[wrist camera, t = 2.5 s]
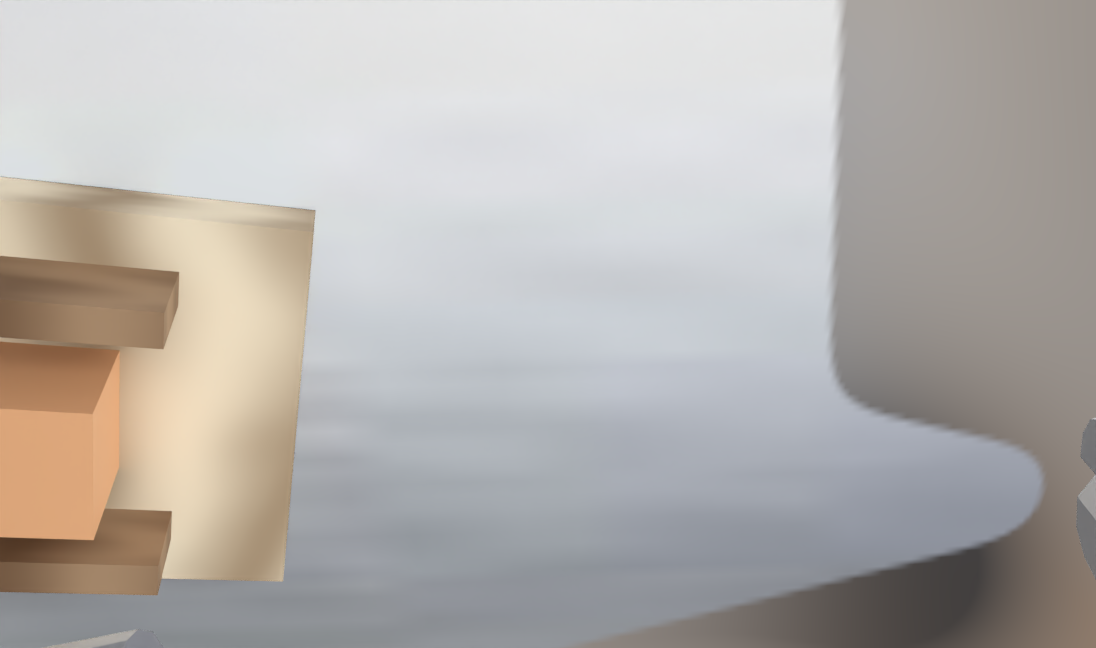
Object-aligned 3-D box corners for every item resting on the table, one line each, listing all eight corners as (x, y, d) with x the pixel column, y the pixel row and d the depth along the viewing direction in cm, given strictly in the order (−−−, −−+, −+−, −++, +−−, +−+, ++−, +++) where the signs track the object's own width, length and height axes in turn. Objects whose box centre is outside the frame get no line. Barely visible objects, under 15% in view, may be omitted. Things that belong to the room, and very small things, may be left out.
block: (-26, 459, 34) (-70, 535, 30) (-34, 339, 32) (-81, 404, 29) (118, 467, 35) (93, 540, 31) (119, 350, 33) (92, 414, 30)
